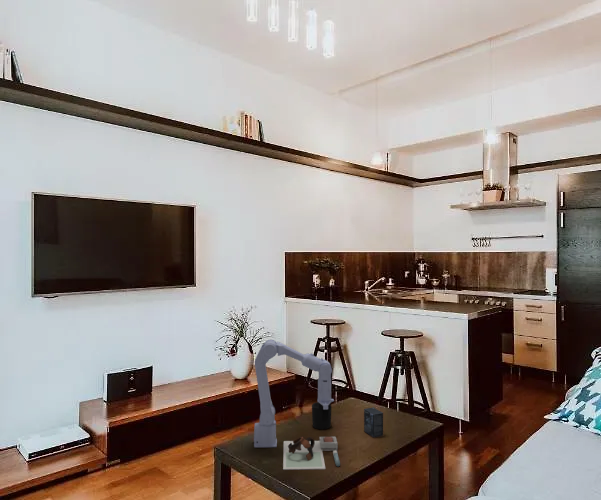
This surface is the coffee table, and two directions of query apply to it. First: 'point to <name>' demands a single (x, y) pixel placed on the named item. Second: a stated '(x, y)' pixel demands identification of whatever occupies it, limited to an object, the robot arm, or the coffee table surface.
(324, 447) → the white square holder
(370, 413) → the box
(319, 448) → the paper
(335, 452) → the marker
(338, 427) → the coffee table surface
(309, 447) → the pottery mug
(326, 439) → the button
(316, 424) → the pen holder
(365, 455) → the coffee table surface
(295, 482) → the coffee table surface
